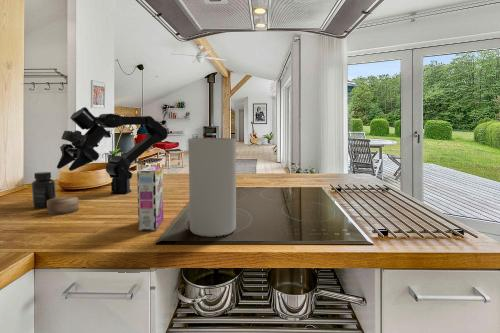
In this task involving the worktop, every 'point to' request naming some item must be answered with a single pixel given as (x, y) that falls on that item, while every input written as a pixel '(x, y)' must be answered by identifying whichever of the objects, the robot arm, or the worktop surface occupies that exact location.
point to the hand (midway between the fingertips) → (63, 169)
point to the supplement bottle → (42, 189)
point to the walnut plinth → (62, 205)
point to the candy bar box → (150, 198)
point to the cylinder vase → (212, 186)
